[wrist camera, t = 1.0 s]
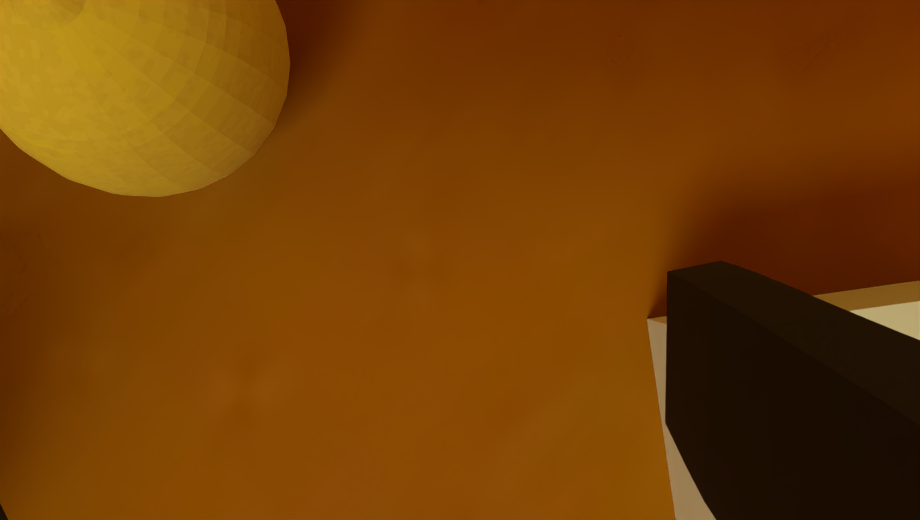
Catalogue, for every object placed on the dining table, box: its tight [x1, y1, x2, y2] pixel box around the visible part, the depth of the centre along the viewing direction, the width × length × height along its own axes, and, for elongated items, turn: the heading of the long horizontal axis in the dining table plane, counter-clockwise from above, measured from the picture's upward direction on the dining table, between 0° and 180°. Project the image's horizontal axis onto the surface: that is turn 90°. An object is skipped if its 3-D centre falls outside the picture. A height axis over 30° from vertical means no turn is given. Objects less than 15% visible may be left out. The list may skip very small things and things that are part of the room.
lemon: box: [0, 0, 290, 197], centre depth 16 cm, size 6×6×8 cm
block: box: [647, 280, 920, 520], centre depth 18 cm, size 6×7×4 cm
